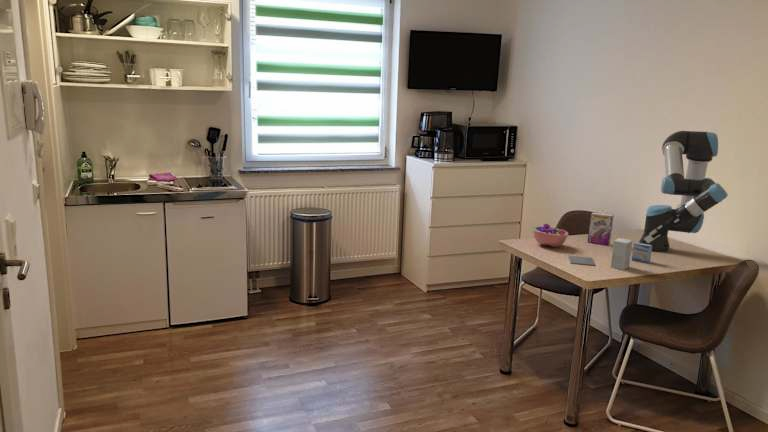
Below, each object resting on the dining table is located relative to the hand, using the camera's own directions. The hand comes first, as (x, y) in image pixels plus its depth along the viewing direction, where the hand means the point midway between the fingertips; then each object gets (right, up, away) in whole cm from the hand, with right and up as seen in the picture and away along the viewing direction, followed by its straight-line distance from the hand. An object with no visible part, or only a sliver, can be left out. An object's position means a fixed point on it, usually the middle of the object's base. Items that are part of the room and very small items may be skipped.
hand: (648, 238), depth 260 cm
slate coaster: (-25, -12, +16) cm, 32 cm away
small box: (-9, -14, +9) cm, 19 cm away
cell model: (-33, -6, +43) cm, 55 cm away
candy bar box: (-3, -5, +53) cm, 53 cm away
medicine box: (+6, -12, +21) cm, 25 cm away
